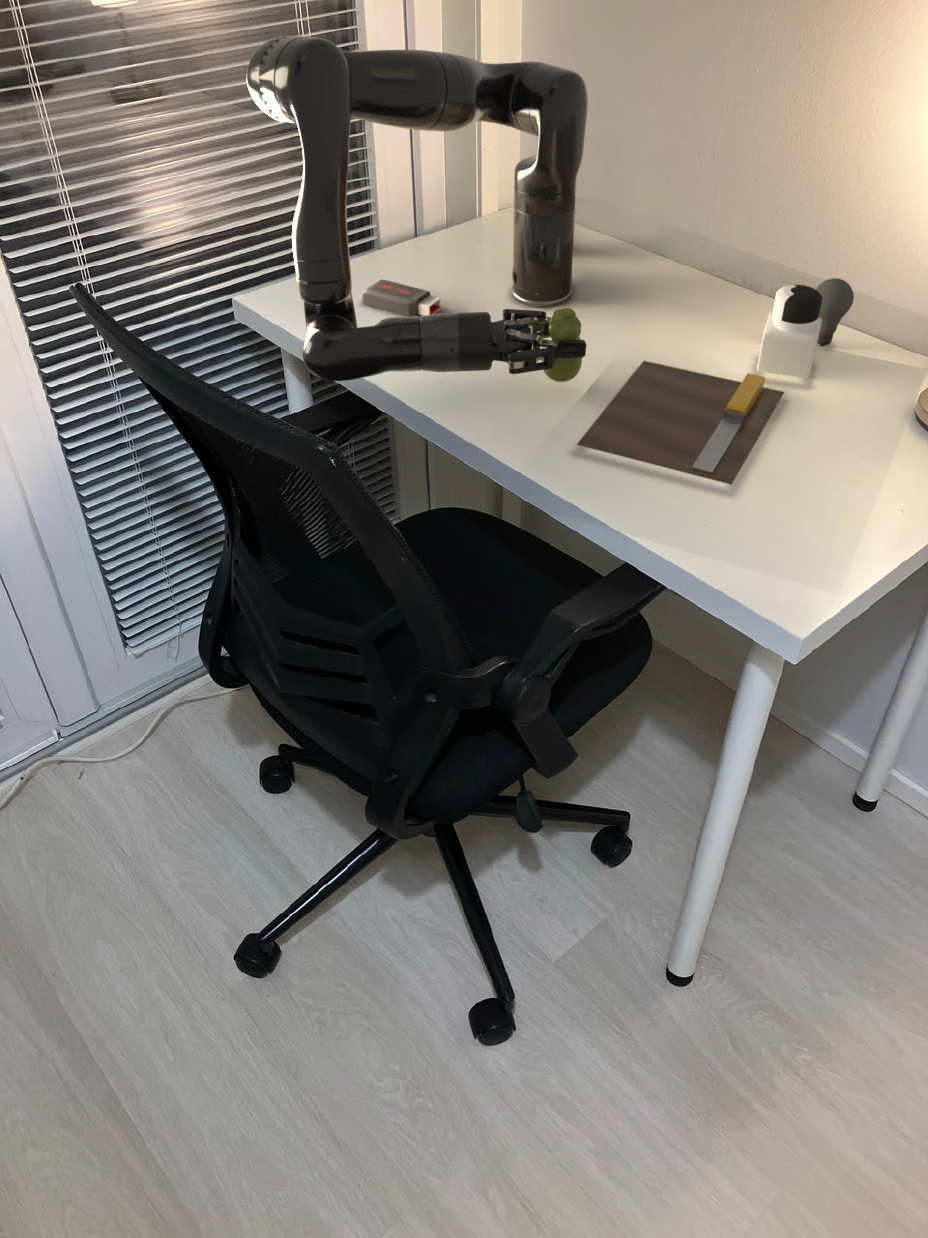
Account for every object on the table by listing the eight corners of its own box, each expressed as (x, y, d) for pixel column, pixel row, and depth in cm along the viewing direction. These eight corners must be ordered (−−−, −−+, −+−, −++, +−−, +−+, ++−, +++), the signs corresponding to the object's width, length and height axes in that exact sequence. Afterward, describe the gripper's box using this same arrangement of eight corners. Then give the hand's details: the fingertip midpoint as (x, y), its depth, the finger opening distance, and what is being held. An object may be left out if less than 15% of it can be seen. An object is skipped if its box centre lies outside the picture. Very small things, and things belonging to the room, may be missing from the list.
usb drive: (381, 291, 170) (380, 275, 168) (444, 307, 165) (443, 291, 163) (362, 304, 166) (361, 287, 164) (426, 321, 162) (425, 304, 160)
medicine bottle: (812, 363, 149) (830, 282, 141) (807, 387, 144) (825, 305, 136) (761, 356, 151) (776, 276, 143) (754, 380, 146) (769, 298, 138)
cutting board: (642, 369, 149) (643, 360, 148) (782, 401, 142) (784, 391, 141) (576, 454, 133) (576, 444, 132) (729, 494, 126) (731, 484, 125)
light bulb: (801, 335, 156) (815, 270, 149) (840, 338, 155) (856, 272, 148) (803, 352, 152) (817, 287, 145) (842, 356, 151) (859, 289, 144)
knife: (744, 384, 143) (746, 372, 141) (764, 389, 142) (766, 377, 140) (690, 468, 128) (692, 456, 127) (712, 474, 127) (714, 461, 126)
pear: (574, 391, 141) (579, 322, 134) (536, 385, 142) (539, 316, 135) (584, 371, 145) (589, 303, 138) (547, 366, 146) (550, 298, 139)
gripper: (456, 342, 131) (591, 337, 132) (452, 291, 142) (578, 287, 142) (457, 395, 136) (588, 390, 137) (454, 342, 147) (575, 337, 147)
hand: (582, 337), depth 139 cm, fingers closed on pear, 5 cm apart
